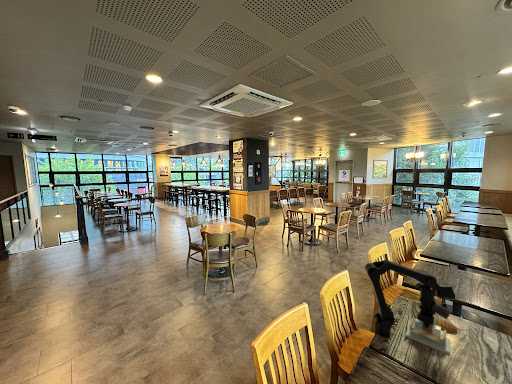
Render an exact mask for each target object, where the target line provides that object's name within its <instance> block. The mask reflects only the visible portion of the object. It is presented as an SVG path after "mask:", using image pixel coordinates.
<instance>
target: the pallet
mask: <svg viewBox="0 0 512 384" xmlns="http://www.w3.org/2000/svg"><path fill="white" fill-rule="evenodd" d="M409 325H410V331H412V332H415V333H417V334H420V335H423V336H425V337H428V338H430V339H433V340H435V341H438V342H440V343H443V344H446V338H447V331H446V330H444V331H443V330H441V336H438V335H436V334H433V333H432V327H433V325H431V324H429V328H426V327H425V325H424V323H423V322H422V329H421V328H418V327H415V318H412V317H411V319H410V323H409Z"/></svg>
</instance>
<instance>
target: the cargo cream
mask: <svg viewBox="0 0 512 384" xmlns="http://www.w3.org/2000/svg"><path fill="white" fill-rule="evenodd" d="M441 331H442V330H441V327H439V326H436V325H435V324H434V325H433V327H432V333H433V334H436V335H438V336H441Z"/></svg>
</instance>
